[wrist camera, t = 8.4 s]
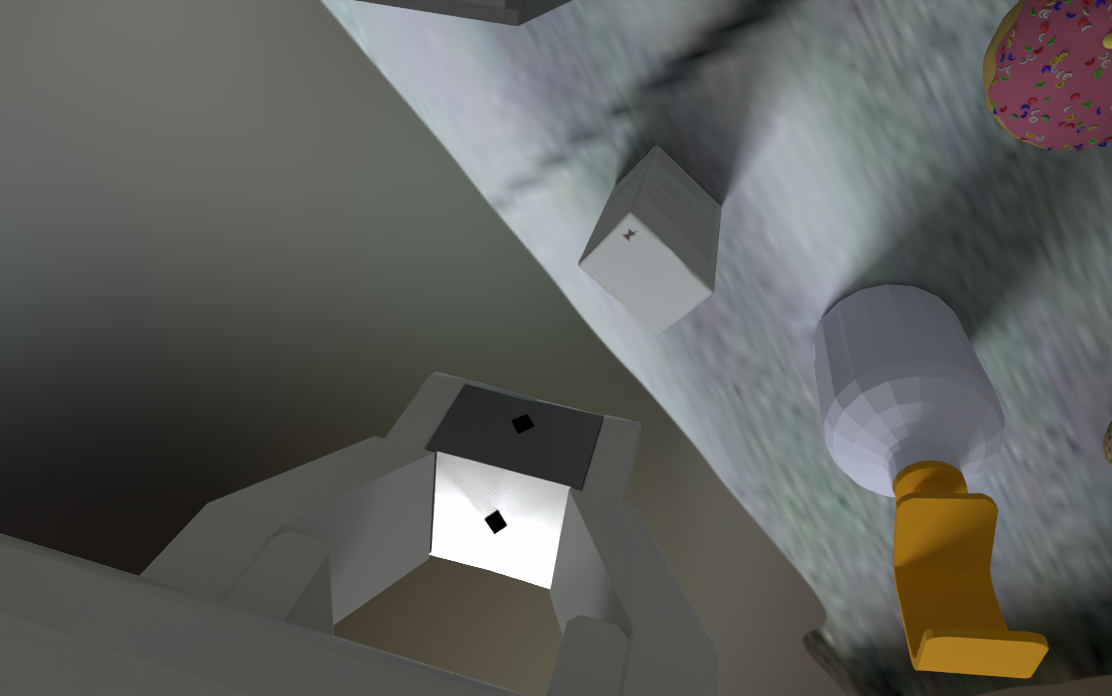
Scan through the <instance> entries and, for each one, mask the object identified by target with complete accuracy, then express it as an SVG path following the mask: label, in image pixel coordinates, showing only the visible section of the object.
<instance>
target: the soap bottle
mask: <svg viewBox="0 0 1112 696" xmlns="http://www.w3.org/2000/svg"><path fill="white" fill-rule="evenodd" d="M813 360H814V367H815V374H816V381H817V389H818V396H819V403H820V410H821V417H822V424H823V431H824V439H825V443H826V445H827V447H828V449H829V451H830V453H831V455H832V457H833V459H834V461H835V463H836V464H837V465H838V466H839V467H840V468H841V469H842V470H843V471H844V472H845V473H846V474H847V475H848V476H849V477H851V478H852V479H853V480H854V481H855V482H856V483H857V484H859V485H860V486H862V487H864V488H867V489H869V490H871V491H874V492H876V493H878V494H881V495H883V496H890V497H895V498H896V511H895V530H894V548H893V570H894V580H895V586H896V592H897V596H898V601H899V606H900V610H901V615H902V620H903V624H904V629H905V633H906V638H907V643H908V647H909V652H910V657H911V660H912V664H913V666H914V668H915V670H926V671H939V672H952V673H964V674H977V675H990V676H1003V677H1016V678H1029V677H1031V676H1032V674H1033V673H1034V671H1035V670H1036V668H1037V666H1038V665H1039V663H1040V662H1041V660H1042V659H1043V657H1044V656H1045V654H1046V652H1047V651H1048V645H1047V641H1046V638H1045V637H1044V636H1042V635H1040V634H1036V633H1032V632H1020V631H1008V629H1007V627H1006V624H1005V621H1004V618H1003V615H1002V613H1001V610H1000V607H999V604H998V602H997V599H996V596H995V593H994V589H993V585H992V581H991V574H990V563H991V555H992V549H993V542H994V535H995V528H996V521H997V514H998V508H997V506H996V504H995V502H994V501H993V500H992V498H991V497H989V496H987V495H984V494H982V493H968V490H967V485H968V484H969V483H971V482H972V481H973V480H975V479H976V478H977V477H979V476H980V475H982V474H983V473H984V472H986V471H987V469H988V468H989V466H990V465H991V463H992V462H993V460H994V458H995V457H996V455H997V454H998V452H999V450H1000V446H1001V441H1002V434H1003V427H1004V419H1005V416H1004V413H1003V410H1002V408H1001V405H1000V402H999V400H998V397H997V394H996V392H995V390H994V388H993V386H992V384H991V382H990V381H989V379H988V377H987V375H986V373H985V371H984V369H983V367H982V365H981V363H980V361H979V359H978V357H977V355H976V353H975V351H974V349H973V347H972V345H971V343H970V341H969V339H968V338H967V336H966V334H965V332H964V330H963V328H962V326H961V324H960V322H959V320H958V318H957V316H956V314H955V312H954V311H953V310H952V309H951V308H950V307H949V306H948V305H947V304H945V303H944V302H943V301H942V300H941V299H940V298H939V297H938V296H936V295H934V294H931V293H929V292H927V291H924V290H922V289H920V288H917V287H915V286H906V285H893V284H884V285H880V286H875V287H870V288H866V289H861V290H859V291H857V292H855V293H853V294H852V295H850V296H848V297H846V298H844V299H842V300H841V301H839V302H838V303H837V304H836V305H835V306H834V307H833V308H832V309H831V310H830V311H829V312H828V313H827V314H826V315H825V316H824V317H823V318H822V320H821V322H820V324H819V327H818V329H817V331H816V334H815V336H814V338H813Z"/></svg>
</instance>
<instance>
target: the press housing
mask: <svg viewBox="0 0 1112 696" xmlns="http://www.w3.org/2000/svg"><path fill="white" fill-rule="evenodd" d="M357 1H363V2H369V3H375V4H382V5H388V6H394V7H400V8H407V9H413V10H419V11H425V12H432V13H438V14H444V15H451V16H457V17H463V18H469V19H476V20H482V21H488V22H494V23H501V24H507V25H513V26H519V25H521V24H523V23H525V22H527V21H530V20H532V19H534V18H536V17H538V16H540V15H542V14H544V13H546V12H548V11H551V10H553V9H555V8H557V7H559V6H561V5H563V4H565V3H567V2H569V1H572V0H357Z"/></svg>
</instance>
